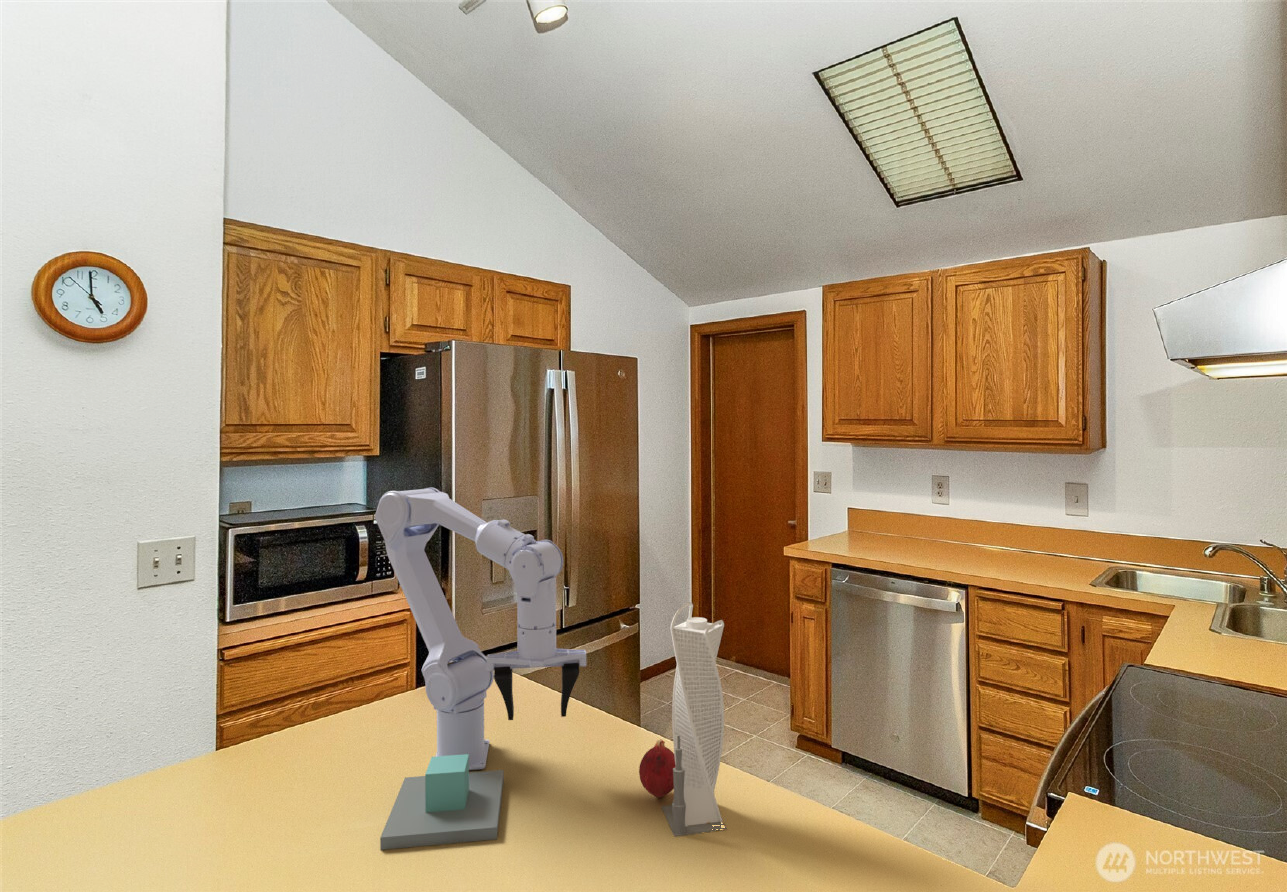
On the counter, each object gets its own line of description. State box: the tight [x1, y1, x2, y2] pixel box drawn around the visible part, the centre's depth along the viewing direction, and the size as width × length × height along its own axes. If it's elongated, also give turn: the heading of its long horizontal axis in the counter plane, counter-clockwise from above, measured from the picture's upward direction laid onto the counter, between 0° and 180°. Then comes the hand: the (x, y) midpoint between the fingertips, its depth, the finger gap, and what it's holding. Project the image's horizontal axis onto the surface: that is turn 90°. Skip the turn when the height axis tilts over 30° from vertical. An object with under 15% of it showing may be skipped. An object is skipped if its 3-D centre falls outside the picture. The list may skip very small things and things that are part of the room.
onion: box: [638, 738, 676, 799], centre depth 94 cm, size 6×6×8 cm
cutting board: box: [379, 769, 505, 851], centre depth 91 cm, size 15×14×2 cm
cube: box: [424, 754, 470, 812], centre depth 91 cm, size 5×5×5 cm
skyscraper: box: [661, 602, 728, 838], centre depth 90 cm, size 8×8×28 cm
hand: (537, 715), depth 99 cm, fingers open, 7 cm apart
